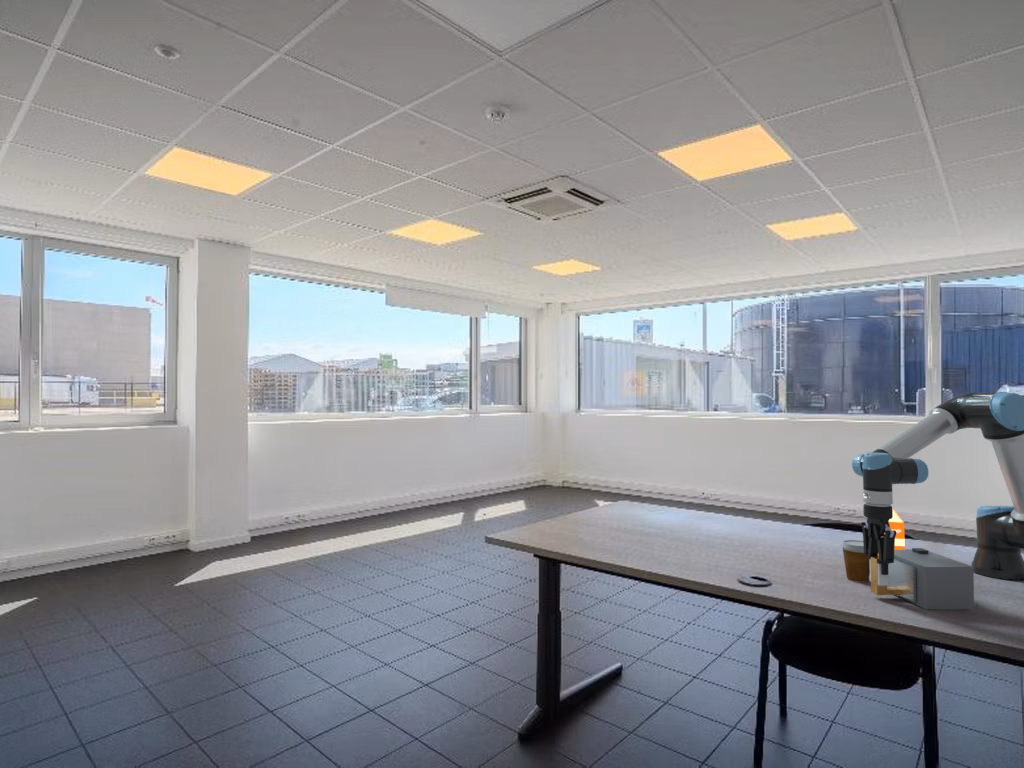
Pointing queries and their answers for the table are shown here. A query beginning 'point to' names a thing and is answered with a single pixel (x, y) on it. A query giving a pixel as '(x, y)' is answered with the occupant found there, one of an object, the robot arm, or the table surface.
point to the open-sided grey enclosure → (939, 580)
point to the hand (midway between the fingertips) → (878, 583)
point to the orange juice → (897, 531)
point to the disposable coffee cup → (856, 561)
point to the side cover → (895, 580)
